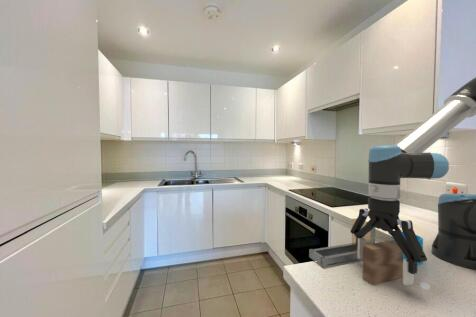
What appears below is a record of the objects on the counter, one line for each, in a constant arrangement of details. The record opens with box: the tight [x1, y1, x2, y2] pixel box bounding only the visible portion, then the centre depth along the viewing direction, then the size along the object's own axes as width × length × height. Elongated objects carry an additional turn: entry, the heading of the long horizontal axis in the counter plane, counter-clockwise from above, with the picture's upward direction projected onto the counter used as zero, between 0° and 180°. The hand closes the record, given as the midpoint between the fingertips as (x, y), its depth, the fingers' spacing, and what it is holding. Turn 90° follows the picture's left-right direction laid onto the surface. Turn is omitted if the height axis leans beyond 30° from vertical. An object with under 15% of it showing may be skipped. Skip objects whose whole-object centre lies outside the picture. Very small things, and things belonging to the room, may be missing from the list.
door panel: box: [362, 240, 403, 286], centre depth 58 cm, size 12×3×10 cm, turn 107°
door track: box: [308, 217, 376, 269], centre depth 70 cm, size 22×7×12 cm, turn 107°
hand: (382, 269), depth 58 cm, fingers open, 13 cm apart
